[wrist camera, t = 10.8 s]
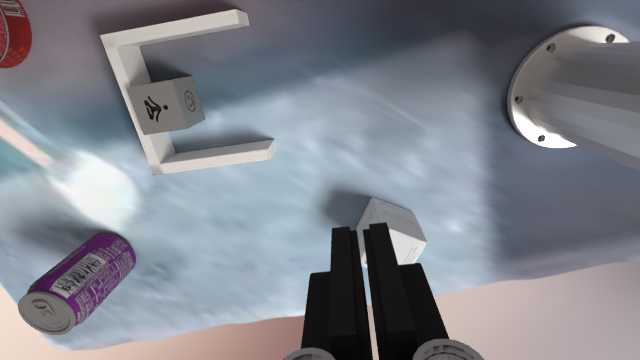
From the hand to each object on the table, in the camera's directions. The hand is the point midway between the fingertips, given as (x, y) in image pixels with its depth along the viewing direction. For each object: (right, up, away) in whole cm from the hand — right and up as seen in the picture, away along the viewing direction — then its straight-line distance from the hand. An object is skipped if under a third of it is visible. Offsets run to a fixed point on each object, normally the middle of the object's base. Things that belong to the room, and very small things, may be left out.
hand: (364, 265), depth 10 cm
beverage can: (-31, -8, +37) cm, 49 cm away
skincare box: (+7, -3, +33) cm, 34 cm away
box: (-15, +12, +27) cm, 33 cm away
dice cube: (-18, +12, +28) cm, 35 cm away
